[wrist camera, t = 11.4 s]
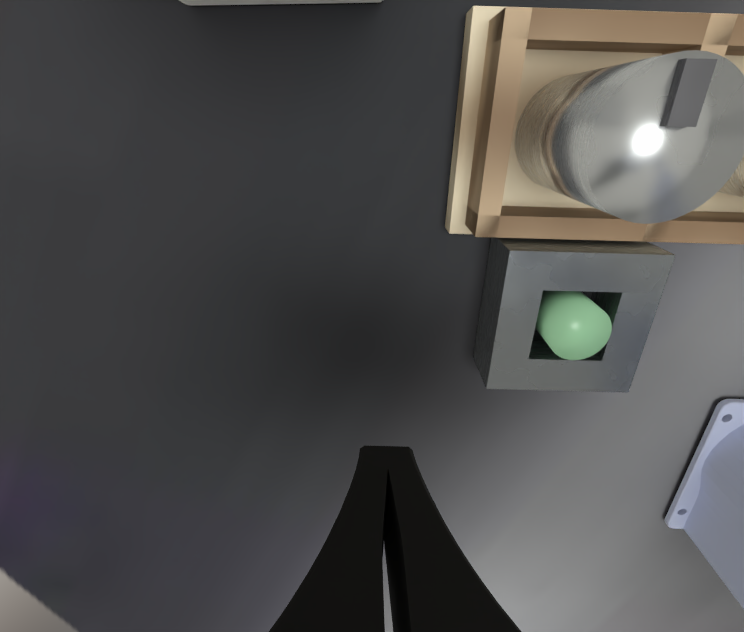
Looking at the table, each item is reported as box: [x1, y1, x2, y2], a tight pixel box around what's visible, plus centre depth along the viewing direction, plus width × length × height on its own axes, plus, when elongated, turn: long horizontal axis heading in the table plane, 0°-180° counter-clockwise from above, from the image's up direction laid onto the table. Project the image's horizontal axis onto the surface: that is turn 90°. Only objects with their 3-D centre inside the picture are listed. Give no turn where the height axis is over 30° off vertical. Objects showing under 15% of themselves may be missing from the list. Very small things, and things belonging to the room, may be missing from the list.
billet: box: [515, 50, 744, 224], centre depth 13 cm, size 4×4×6 cm
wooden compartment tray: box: [445, 6, 744, 244], centre depth 16 cm, size 8×14×3 cm, turn 88°
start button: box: [535, 290, 612, 360], centre depth 19 cm, size 2×2×3 cm
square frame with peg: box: [473, 237, 675, 392], centre depth 19 cm, size 6×6×3 cm
